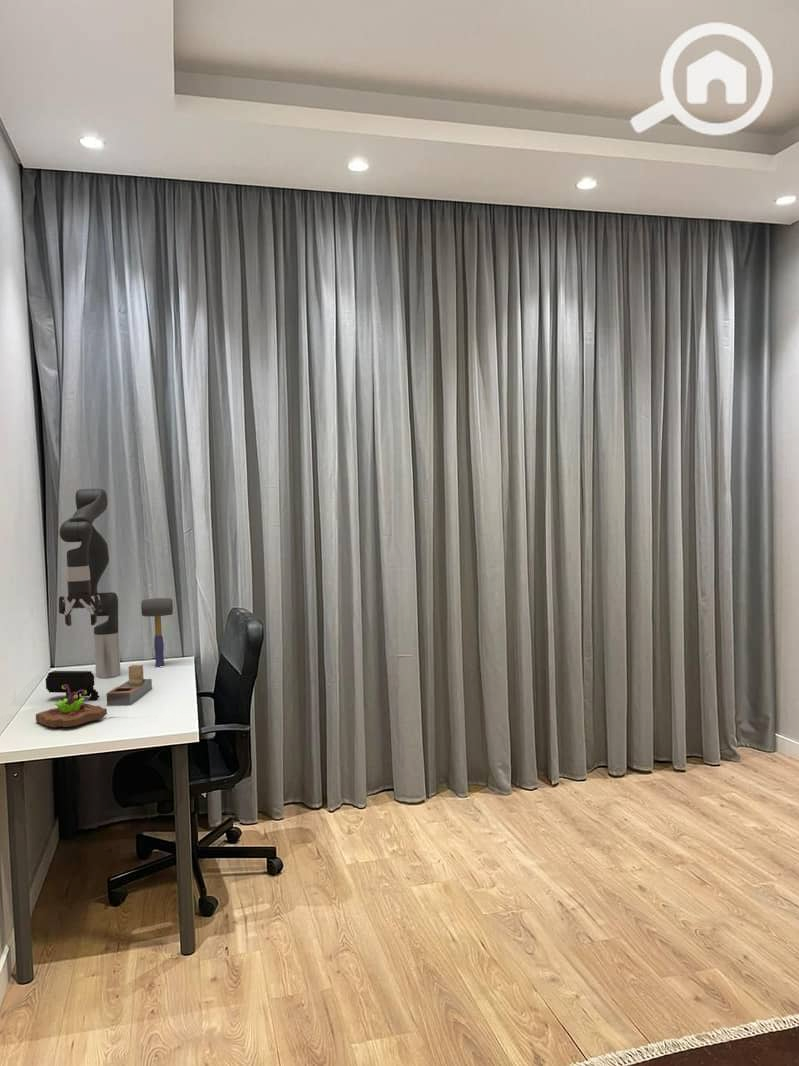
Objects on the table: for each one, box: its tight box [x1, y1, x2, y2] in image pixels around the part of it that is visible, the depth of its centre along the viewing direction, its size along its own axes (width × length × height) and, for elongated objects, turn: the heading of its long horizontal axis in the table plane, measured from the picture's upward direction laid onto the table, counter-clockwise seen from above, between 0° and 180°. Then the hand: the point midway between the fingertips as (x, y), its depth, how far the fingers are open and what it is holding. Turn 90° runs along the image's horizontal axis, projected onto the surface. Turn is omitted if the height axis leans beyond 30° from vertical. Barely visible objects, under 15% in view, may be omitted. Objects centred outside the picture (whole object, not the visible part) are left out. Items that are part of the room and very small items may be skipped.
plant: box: [35, 684, 108, 728], centre depth 278 cm, size 20×20×11 cm
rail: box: [106, 678, 153, 707], centre depth 305 cm, size 24×8×4 cm, turn 179°
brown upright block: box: [128, 663, 145, 684], centre depth 312 cm, size 4×4×9 cm
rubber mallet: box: [140, 597, 174, 668], centre depth 352 cm, size 12×8×30 cm, turn 101°
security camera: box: [45, 670, 100, 702], centre depth 303 cm, size 7×18×10 cm, turn 78°
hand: (81, 625), depth 298 cm, fingers open, 8 cm apart
